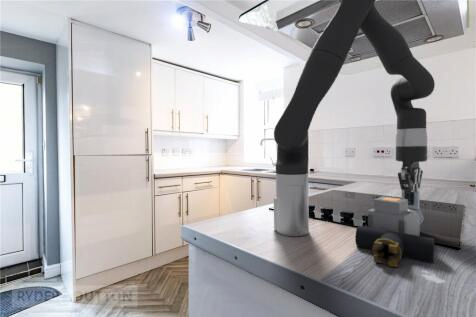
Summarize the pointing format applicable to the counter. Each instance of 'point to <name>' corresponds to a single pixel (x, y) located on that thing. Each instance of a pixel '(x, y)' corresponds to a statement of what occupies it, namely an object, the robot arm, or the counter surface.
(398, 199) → the plunger
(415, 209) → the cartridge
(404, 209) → the housing
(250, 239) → the counter surface
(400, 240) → the pipe connector
